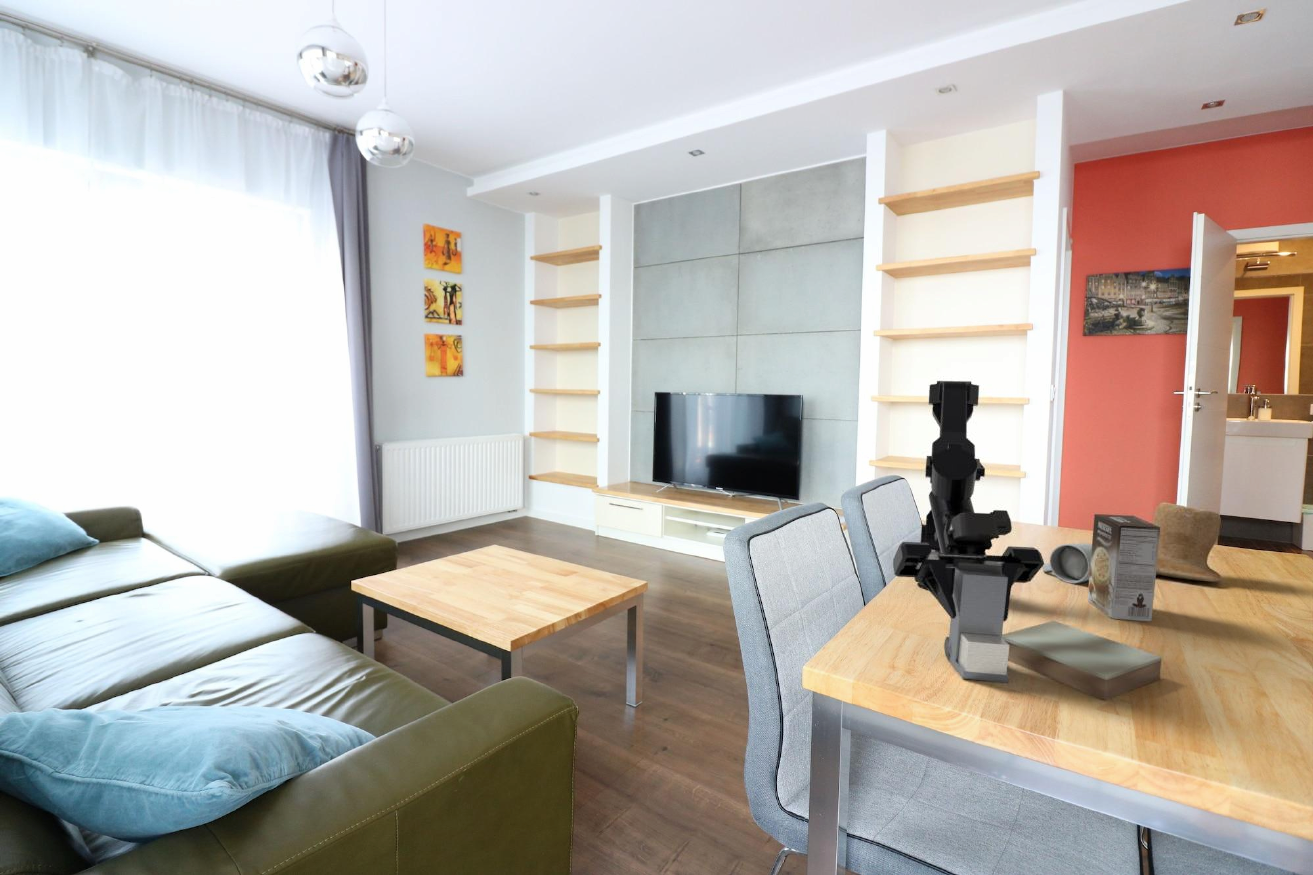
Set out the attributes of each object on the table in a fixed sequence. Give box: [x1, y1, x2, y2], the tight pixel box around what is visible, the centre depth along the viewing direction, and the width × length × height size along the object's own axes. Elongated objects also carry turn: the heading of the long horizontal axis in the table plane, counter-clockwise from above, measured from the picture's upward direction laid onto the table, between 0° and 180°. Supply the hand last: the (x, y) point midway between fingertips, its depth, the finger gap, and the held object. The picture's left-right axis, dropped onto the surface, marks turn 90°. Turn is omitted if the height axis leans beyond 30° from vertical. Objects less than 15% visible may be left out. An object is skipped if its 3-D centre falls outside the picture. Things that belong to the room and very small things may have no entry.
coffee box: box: [1087, 513, 1161, 622], centre depth 108 cm, size 9×6×16 cm
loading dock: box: [1002, 620, 1163, 701], centre depth 86 cm, size 14×13×3 cm
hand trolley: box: [943, 559, 1010, 683], centre depth 85 cm, size 8×6×14 cm
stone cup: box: [1152, 502, 1222, 582], centre depth 130 cm, size 15×12×15 cm
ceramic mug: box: [1041, 542, 1092, 584], centre depth 127 cm, size 11×8×8 cm
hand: (979, 618), depth 84 cm, fingers closed on hand trolley, 6 cm apart
